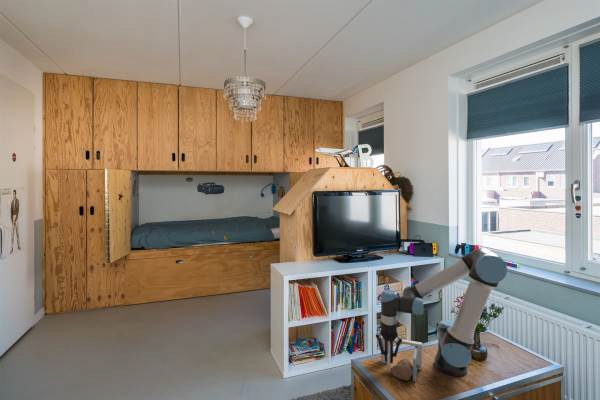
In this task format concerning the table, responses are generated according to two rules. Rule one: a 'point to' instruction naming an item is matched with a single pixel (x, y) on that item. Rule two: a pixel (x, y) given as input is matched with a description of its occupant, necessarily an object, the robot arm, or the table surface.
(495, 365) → the table surface
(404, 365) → the stone
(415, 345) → the wall frame
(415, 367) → the door
